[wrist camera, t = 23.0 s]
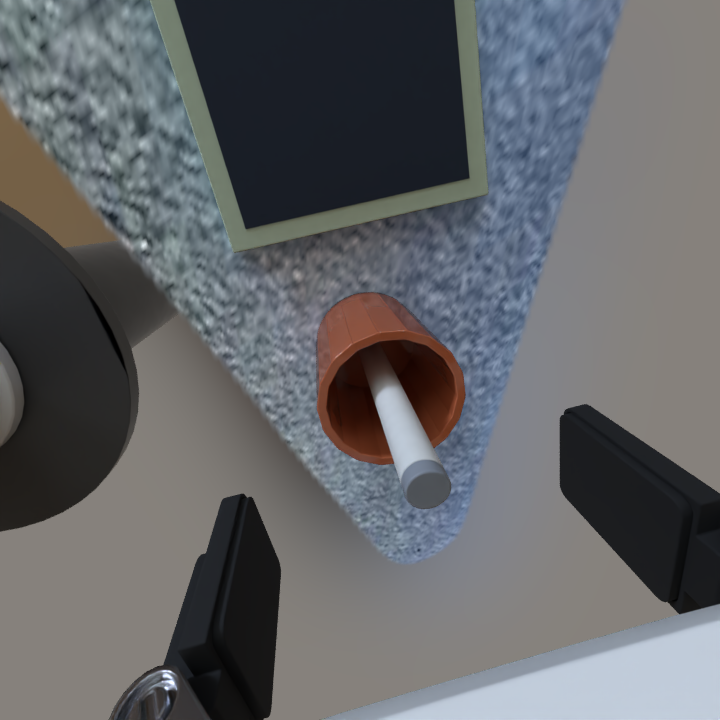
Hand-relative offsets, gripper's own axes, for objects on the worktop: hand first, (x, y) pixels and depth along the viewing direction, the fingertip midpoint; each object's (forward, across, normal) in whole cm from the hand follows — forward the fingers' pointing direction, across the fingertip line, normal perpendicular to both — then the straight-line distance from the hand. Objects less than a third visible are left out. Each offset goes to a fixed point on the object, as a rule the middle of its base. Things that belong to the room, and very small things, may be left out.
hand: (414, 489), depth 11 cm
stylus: (+13, -1, 0) cm, 13 cm away
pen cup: (+13, -1, 0) cm, 13 cm away
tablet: (+13, -2, -16) cm, 21 cm away
